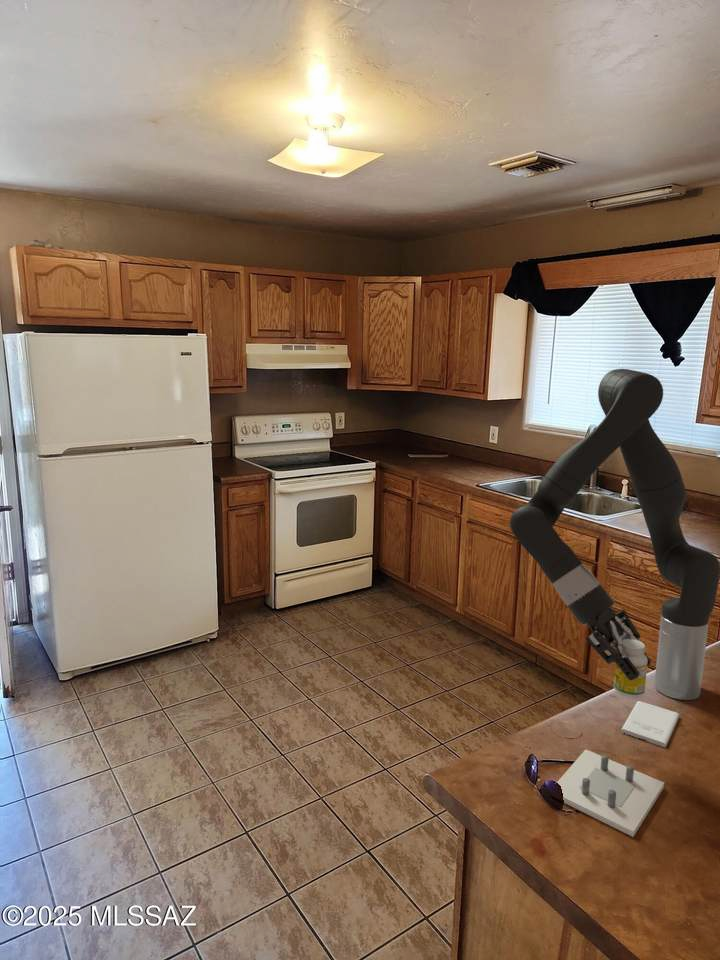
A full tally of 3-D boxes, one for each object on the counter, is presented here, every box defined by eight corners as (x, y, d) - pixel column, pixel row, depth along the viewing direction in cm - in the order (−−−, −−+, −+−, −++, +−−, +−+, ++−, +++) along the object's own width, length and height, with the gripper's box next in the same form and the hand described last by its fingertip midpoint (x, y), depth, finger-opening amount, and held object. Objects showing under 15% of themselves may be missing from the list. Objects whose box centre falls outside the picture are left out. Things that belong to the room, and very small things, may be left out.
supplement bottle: (644, 701, 114) (649, 653, 112) (613, 695, 116) (617, 647, 114) (643, 686, 119) (648, 639, 117) (613, 680, 121) (617, 635, 119)
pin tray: (585, 753, 119) (586, 737, 118) (663, 787, 109) (665, 770, 109) (549, 795, 108) (550, 777, 107) (633, 837, 98) (635, 817, 98)
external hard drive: (678, 720, 130) (665, 750, 120) (636, 707, 135) (620, 734, 125) (679, 713, 130) (665, 742, 120) (637, 700, 134) (621, 727, 125)
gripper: (581, 595, 113) (644, 678, 108) (611, 573, 123) (670, 648, 118) (551, 614, 118) (610, 695, 112) (583, 592, 128) (638, 665, 123)
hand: (641, 671), depth 115 cm, fingers closed on supplement bottle, 5 cm apart
